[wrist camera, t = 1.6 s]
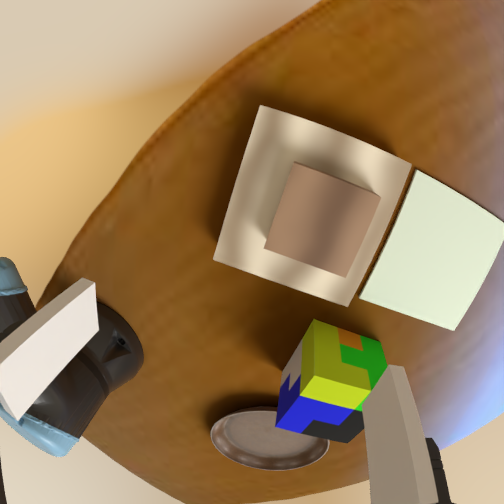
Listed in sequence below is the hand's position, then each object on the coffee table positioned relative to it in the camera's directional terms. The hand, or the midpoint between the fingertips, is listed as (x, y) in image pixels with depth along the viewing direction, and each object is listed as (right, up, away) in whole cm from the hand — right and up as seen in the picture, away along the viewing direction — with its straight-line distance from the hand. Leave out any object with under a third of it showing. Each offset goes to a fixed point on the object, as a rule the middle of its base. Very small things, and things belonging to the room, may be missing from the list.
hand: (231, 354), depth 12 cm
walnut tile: (+7, +8, +15) cm, 19 cm away
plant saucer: (+4, -28, +34) cm, 44 cm away
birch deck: (+7, +9, +19) cm, 22 cm away
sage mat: (+23, +3, +18) cm, 30 cm away
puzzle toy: (+11, -10, +26) cm, 30 cm away
